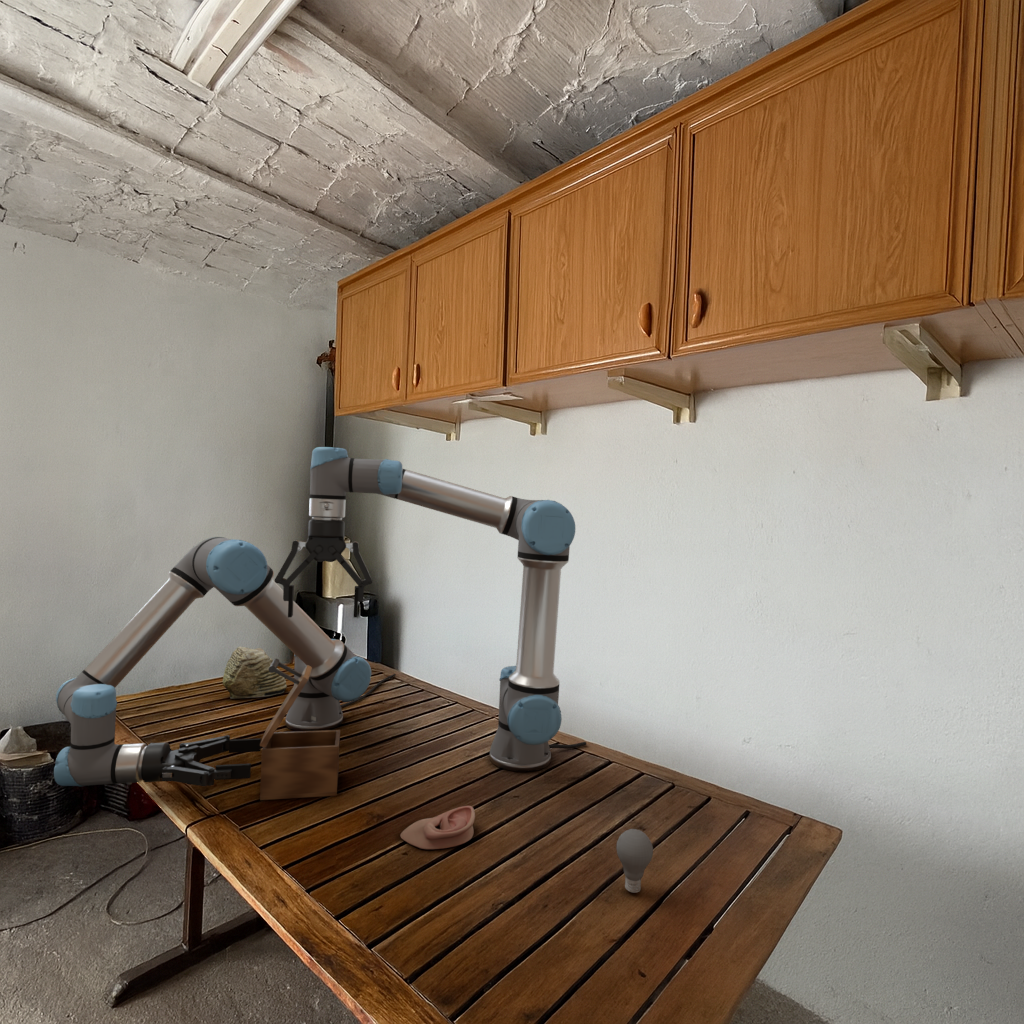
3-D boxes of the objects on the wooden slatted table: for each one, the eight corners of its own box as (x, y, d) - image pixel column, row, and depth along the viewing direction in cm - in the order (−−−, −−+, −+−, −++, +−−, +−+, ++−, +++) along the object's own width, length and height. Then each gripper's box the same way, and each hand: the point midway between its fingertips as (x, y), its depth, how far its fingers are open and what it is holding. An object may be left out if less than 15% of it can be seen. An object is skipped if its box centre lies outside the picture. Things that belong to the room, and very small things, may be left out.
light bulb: (610, 879, 108) (613, 822, 108) (644, 879, 109) (647, 822, 109) (619, 902, 102) (622, 840, 102) (655, 901, 103) (658, 840, 103)
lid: (312, 667, 142) (279, 649, 140) (308, 679, 133) (273, 660, 131) (271, 730, 140) (238, 713, 139) (264, 747, 131) (229, 729, 129)
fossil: (218, 695, 195) (220, 647, 195) (278, 685, 208) (279, 640, 207) (228, 703, 189) (230, 653, 188) (289, 692, 201) (290, 645, 201)
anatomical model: (394, 823, 116) (416, 795, 127) (393, 844, 116) (415, 814, 128) (464, 834, 114) (480, 804, 125) (463, 855, 114) (479, 824, 125)
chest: (338, 775, 144) (340, 729, 144) (336, 795, 135) (338, 746, 134) (266, 779, 141) (268, 732, 140) (259, 800, 131) (261, 749, 131)
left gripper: (163, 756, 142) (263, 751, 147) (122, 810, 118) (244, 802, 123) (164, 723, 142) (264, 719, 147) (124, 770, 118) (246, 764, 123)
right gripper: (263, 517, 131) (259, 619, 131) (386, 521, 137) (382, 619, 137) (268, 516, 138) (265, 612, 139) (385, 520, 144) (381, 613, 144)
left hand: (255, 757), depth 135 cm, fingers open, 13 cm apart
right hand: (323, 616), depth 138 cm, fingers open, 13 cm apart
